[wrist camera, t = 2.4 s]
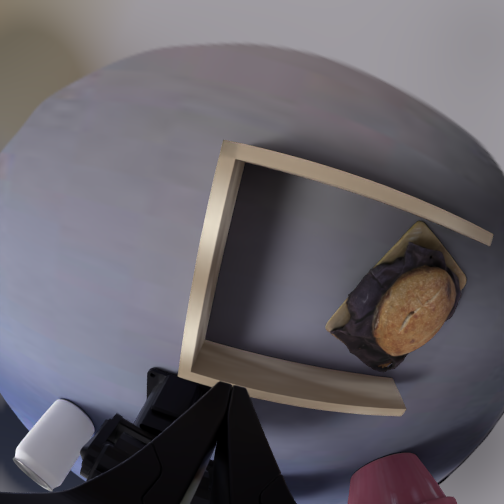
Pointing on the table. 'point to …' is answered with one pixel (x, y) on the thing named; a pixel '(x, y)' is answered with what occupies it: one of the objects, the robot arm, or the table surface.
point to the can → (54, 444)
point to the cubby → (268, 368)
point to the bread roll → (400, 301)
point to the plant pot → (396, 483)
